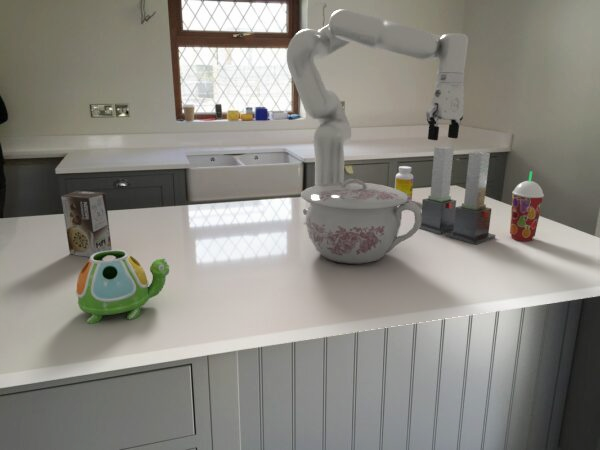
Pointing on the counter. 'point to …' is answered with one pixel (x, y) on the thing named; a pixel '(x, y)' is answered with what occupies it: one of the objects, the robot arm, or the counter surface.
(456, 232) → the twin stand
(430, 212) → the stand sleeve
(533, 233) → the smoothie
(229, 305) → the counter surface
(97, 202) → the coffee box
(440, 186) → the column
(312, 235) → the chamber pot
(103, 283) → the turtle holder
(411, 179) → the supplement bottle
